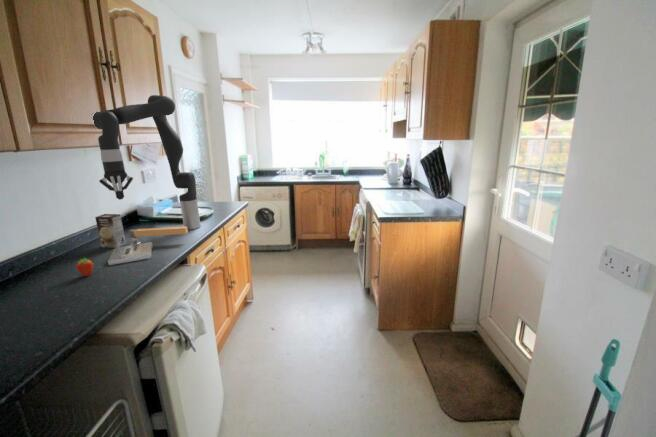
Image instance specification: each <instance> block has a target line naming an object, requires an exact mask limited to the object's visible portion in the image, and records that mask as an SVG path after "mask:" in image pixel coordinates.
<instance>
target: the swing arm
mask: <svg viewBox="0 0 656 437" xmlns="http://www.w3.org/2000/svg"><path fill="white" fill-rule="evenodd" d="M187 233H188V230H187V227H184V226H174V227H173V226H172V227H171V226H170V227H155V228H153V227H152V228H134V229H133V228H132V229H129V230H128V235H129V237H130V238H131V237H137V238H138V237H151V236H152V237H153V236H172V235H186V234H187Z"/></svg>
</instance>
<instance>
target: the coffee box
mask: <svg viewBox="0 0 656 437" xmlns="http://www.w3.org/2000/svg"><path fill="white" fill-rule="evenodd" d="M121 216H122V215H121V214H120V213H118V214H117V213H104V214H100V215H97V216H95V217H94V218H95V222H96V226H97V231H98V235H99V239H100V244H101V247H102V248H117V247H123V246H125V245H126V244H127V242H126V236H125V231H124V226H123V222H122V221H123V220H122V217H121Z"/></svg>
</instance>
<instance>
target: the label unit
mask: <svg viewBox="0 0 656 437" xmlns="http://www.w3.org/2000/svg"><path fill="white" fill-rule="evenodd" d="M153 247H154V246H153V242H145V243H141V244H137V245H131V246H130V245H123V246H120V247H117V248H114V247H113V248H114V249H113V250H112V253H111V254H110V256H109V258H108V260H107V263H108V266H113V265H119V264H125V263H131V262H137V261H141V260H143V261H144V260H149V259H151V258H152V253H153V252H152V251H153Z"/></svg>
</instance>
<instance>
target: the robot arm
mask: <svg viewBox="0 0 656 437" xmlns="http://www.w3.org/2000/svg"><path fill="white" fill-rule="evenodd" d="M175 110H176V104H175V102H174V100H173V98H171V97H169V96H166V95H159V94H158V95H156V94H153V95H150V96H148V98H147V103H140V104H139V103H138V104H129V105H123V106H120V107H116V108H113V109H106V110H100V112H98V111H96V113H95V112H94V113H95V114H94V116H93V120H94V124H95V126H96V127H97V128H96V129H98V130H102V131H101V132H102V133H101V135H99V136H98V138H97V140H98V144H99V145H98V146H99V150H100V159H101V162H102V163H101V164H102V167H103V170H104V171H103V177H102V178H101V179H99V180H98V181H99V183H100V184H102V185H103V186H104V187H105V188H106V189H108V190H109V191H114V193H115V197H116V199H118V201H119V200H123V199H124V198H125V194H124V190H127V189H128V187H129V186H130V184H131V183H132V182H133V180H134V177H132V176H130V175H128V173H127V172H126V168H125V165H124V160H123V159H124V158H123V155H122V152H121V149H120V143H119V133H120V132H119V131H120V130H119V129H120V125H126V124H130V123H135V122H137V121H141V120H146V119H148V118H152V119H153V121H154V123H155V126H156V130H157V133H158V135H159V137H160V141H161V144H162V147H163V150H164V153H165V155H166V158H167V161H168V162H167V163H168V164H169V165H168V166H169V169H170V174H171V177H172V181H173V185H174V186H175V188H176V189H187V191H186V192H185V193H182V194H180V195H179V197H178V198H179V205H180V209H181V217H182V224H183V227H187V230H191V231H192V230H196V229H200V228H201V219H200V213H199V212H200V211H199V205H198V200H197V199H198V197H197V186H196V185H197V184H196V177H195V176H196V175H195V174H194V173H193V172H190V171H189V172H188V171H187V172H182V171H180V162H181V159H182V157H183V153H184V147H183V144H182V140H181V138H180V136H179V134H178V133H177V132H176V130H174V128H173V127H172V126H171V124H170V123H169V121H168V119H167V116H170V115H172V114H173V113H174V112H175ZM125 181H127V182H126V183H125V184H123V183H124V182H125ZM108 182H109V183H110V184H109V183H108ZM111 184H112V185H111ZM123 185H124V186H123Z"/></svg>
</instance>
